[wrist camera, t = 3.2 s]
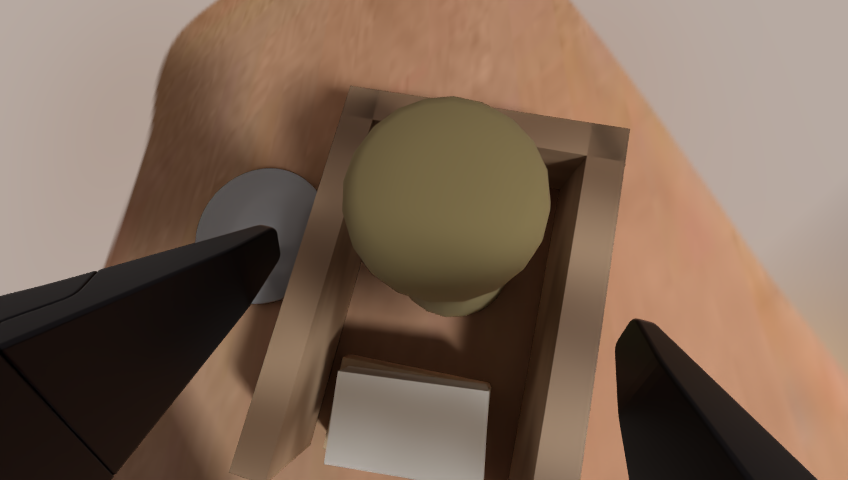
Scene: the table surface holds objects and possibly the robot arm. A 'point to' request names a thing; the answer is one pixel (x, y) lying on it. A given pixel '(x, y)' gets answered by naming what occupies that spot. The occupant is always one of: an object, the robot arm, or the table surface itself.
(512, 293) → the table surface
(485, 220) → the olive knobbed peg
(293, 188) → the slate pad
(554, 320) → the brown wooden rectangular frame
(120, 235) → the table surface
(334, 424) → the light grey rectangular block
